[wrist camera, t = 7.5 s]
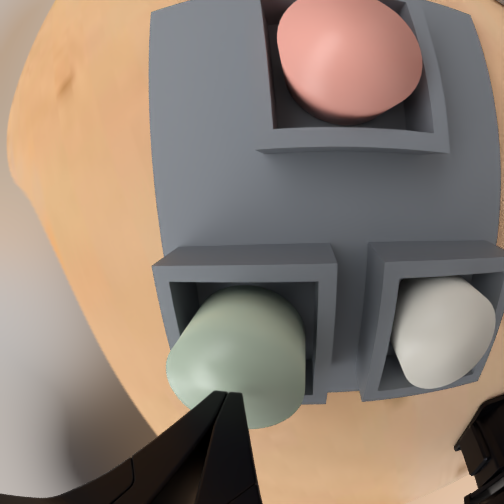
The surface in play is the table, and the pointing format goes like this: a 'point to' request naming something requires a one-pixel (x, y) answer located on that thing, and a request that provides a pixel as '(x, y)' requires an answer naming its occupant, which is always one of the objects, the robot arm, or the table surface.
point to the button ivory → (440, 329)
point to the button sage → (243, 354)
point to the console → (320, 186)
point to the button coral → (347, 58)
